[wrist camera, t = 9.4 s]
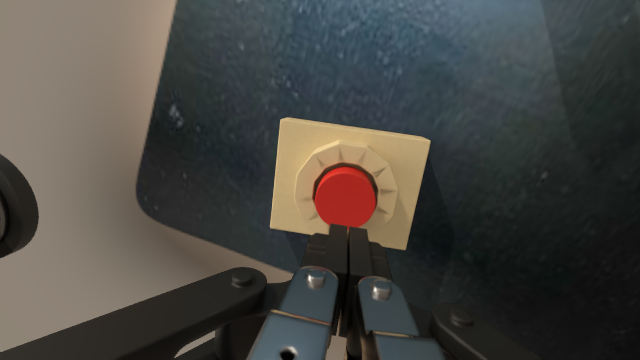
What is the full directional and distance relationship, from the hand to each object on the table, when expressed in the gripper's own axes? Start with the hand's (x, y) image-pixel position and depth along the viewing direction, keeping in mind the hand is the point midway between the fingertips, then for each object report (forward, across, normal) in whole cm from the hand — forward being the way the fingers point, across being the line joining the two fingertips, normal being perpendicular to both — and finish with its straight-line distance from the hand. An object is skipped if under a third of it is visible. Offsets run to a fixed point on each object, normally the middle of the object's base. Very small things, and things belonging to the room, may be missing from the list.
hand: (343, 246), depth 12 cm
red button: (+7, 0, 0) cm, 7 cm away
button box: (+11, 0, 0) cm, 11 cm away
